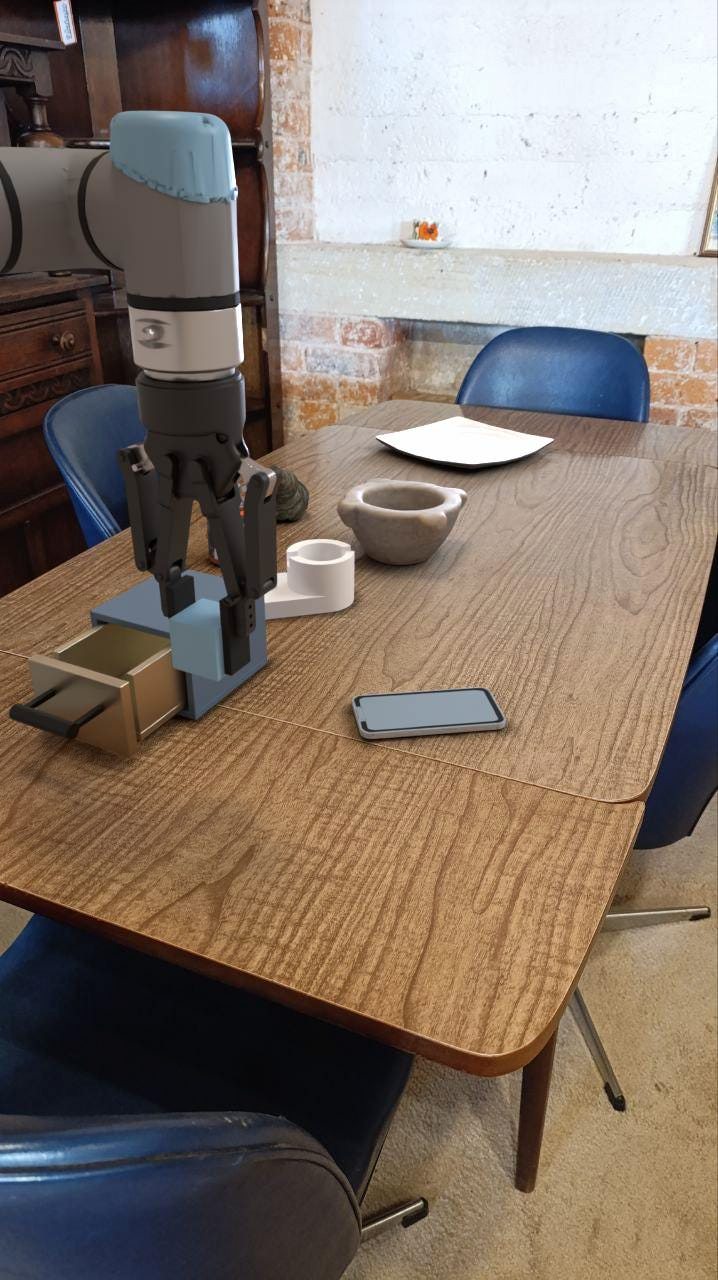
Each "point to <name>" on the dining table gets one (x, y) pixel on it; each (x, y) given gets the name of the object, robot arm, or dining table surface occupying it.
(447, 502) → the mortar
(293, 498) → the seashell
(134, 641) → the drawer
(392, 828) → the dining table surface
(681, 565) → the dining table surface
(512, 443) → the plate
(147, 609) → the compartment
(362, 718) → the smartphone
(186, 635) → the cube
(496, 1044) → the dining table surface
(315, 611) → the bracket
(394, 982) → the dining table surface
